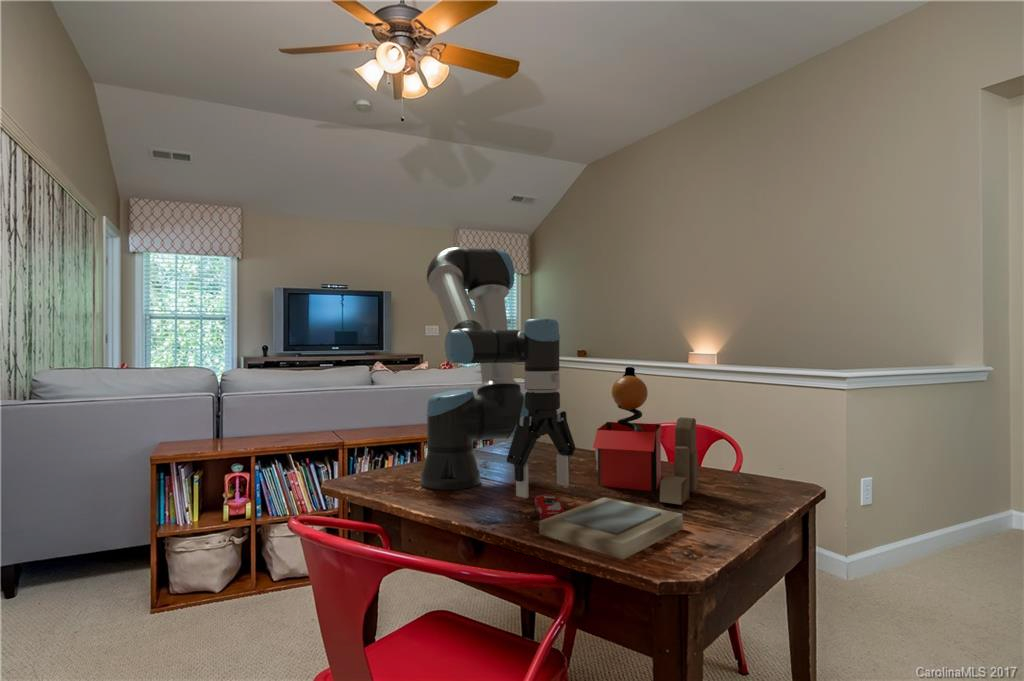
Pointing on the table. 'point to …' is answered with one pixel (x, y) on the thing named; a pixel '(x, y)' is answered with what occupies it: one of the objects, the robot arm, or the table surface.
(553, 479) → the table surface
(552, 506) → the race car
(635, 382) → the jack-in-the-box
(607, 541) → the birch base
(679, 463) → the wooden block set
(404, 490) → the table surface
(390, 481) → the table surface
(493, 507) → the table surface
